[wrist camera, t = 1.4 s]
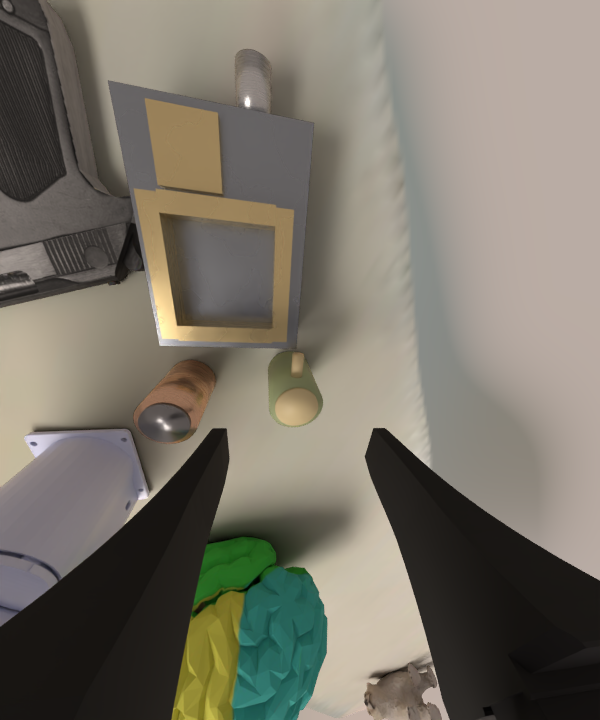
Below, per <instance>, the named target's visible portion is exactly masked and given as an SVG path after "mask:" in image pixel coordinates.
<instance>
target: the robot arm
mask: <svg viewBox="0 0 600 720" xmlns="http://www.w3.org/2000/svg"><path fill="white" fill-rule="evenodd" d="M24 438H25V441H26V442H27V444H28V446H29V448H30V449H31V451H32V453H33V455H34V456H35V459H34V460H33V461H31V462H30V463H29V464H28V465H27V466H26V467H24V468H23V469H22V470H21V471H20V472H18V473H17V474H16V475H15V476H14V477H12V478H11V479H10V480H9V481H8V482H6V483H5V484H4V485H3V486H2V487H0V720H171V719H172V713H173V708H174V702H175V697H176V692H177V686H178V681H179V675H180V670H181V664H182V659H183V654H184V649H185V644H186V639H187V634H188V629H189V624H190V619H191V614H192V609H193V604H194V599H195V595H196V590H197V585H198V580H199V576H200V571H201V567H202V562H203V557H204V553H205V549H206V545H207V542H208V538H209V535H210V531H211V528H212V525H213V521H214V518H215V515H216V511H217V508H218V505H219V501H220V498H221V494H222V491H223V488H224V484H225V480H226V475H227V470H228V464H229V449H228V438H227V428H213V429H212V430H211V431H210V432H209V434H208V435H207V436H206V437H205V439H204V440H203V441H202V443H201V444H200V445H199V446H198V448H197V449H196V450H195V451H194V453H193V454H192V455H191V456H190V457H189V459H188V460H187V461H186V462H185V463H184V465H183V466H182V467H181V468H180V469H179V470H178V471H177V473H176V474H175V475H174V476H173V477H172V478H171V479H170V480H169V481H168V482H167V483H166V485H165V486H164V487H163V488H162V489H161V490H160V491H159V492H158V493H157V494H156V495H155V496H154V497H153V498H152V499H151V500H150V501H149V502H148V503H147V504H146V505H145V506H144V507H143V508H142V509H141V510H140V511H139V512H138V513H137V514H136V515H135V516H134V517H133V518H132V519H131V520H130V521H128V522H127V523H126V524H125V522H126V520H127V518H128V516H129V515H130V513H131V511H132V509H133V507H134V505H135V504H136V502H137V500H139V499H146V498H147V497H148V496H149V490H148V486H147V483H146V480H145V477H144V473H143V470H142V467H141V464H140V460H139V457H138V454H137V451H136V447H135V444H134V441H133V438H132V435H131V432H130V431H129V430H128V429H103V430H75V431H48V432H30V433H29V434H27V435H26V436H25V437H24ZM125 438H126V439H125ZM365 459H366V463H367V466H368V470H369V473H370V476H371V479H372V481H373V484H374V486H375V489H376V491H377V494H378V496H379V498H380V501H381V503H382V505H383V508H384V510H385V512H386V515H387V517H388V519H389V522H390V524H391V526H392V529H393V532H394V534H395V537H396V539H397V542H398V545H399V548H400V551H401V554H402V557H403V560H404V563H405V566H406V569H407V573H408V576H409V579H410V582H411V585H412V589H413V592H414V595H415V598H416V602H417V605H418V609H419V612H420V616H421V619H422V623H423V626H424V630H425V633H426V637H427V641H428V645H429V648H430V652H431V656H432V660H433V664H434V667H435V671H436V675H437V679H438V683H439V687H440V691H441V695H442V699H443V702H444V705H445V708H446V711H447V713H448V716H449V719H450V720H600V581H599V580H598V579H596V578H594V577H592V576H590V575H589V574H587V573H585V572H583V571H581V570H580V569H578V568H576V567H574V566H572V565H571V564H569V563H567V562H565V561H563V560H562V559H560V558H558V557H557V556H555V555H553V554H551V553H550V552H548V551H547V550H545V549H543V548H542V547H540V546H538V545H537V544H535V543H533V542H532V541H530V540H528V539H527V538H525V537H524V536H522V535H520V534H519V533H517V532H516V531H514V530H513V529H511V528H510V527H508V526H506V525H505V524H504V523H502V522H501V521H499V520H497V519H496V518H495V517H493V516H492V515H490V514H488V513H487V512H485V511H484V510H483V509H481V508H480V507H479V506H477V505H476V504H474V503H473V502H472V501H470V500H469V499H468V498H466V497H465V496H464V495H462V494H461V493H460V492H458V491H457V490H456V489H454V488H453V487H452V486H450V485H449V484H448V483H447V482H446V481H444V480H443V479H442V478H441V477H440V476H438V475H437V474H436V473H435V472H433V471H432V470H431V469H430V468H429V467H428V466H426V465H425V464H424V463H423V462H422V461H421V460H420V459H418V458H417V457H416V456H415V455H414V454H413V453H412V452H411V451H410V450H408V449H407V448H406V447H405V446H404V445H403V444H402V443H401V442H400V441H399V440H398V439H397V438H395V437H394V436H393V435H392V434H391V433H390V432H389V431H388V430H386V429H385V428H373V432H372V435H371V438H370V441H369V445H368V448H367V451H366V455H365ZM124 524H125V525H124Z"/></svg>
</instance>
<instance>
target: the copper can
mask: <svg viewBox="0 0 600 720" xmlns="http://www.w3.org/2000/svg"><path fill="white" fill-rule="evenodd" d="M215 383H216V379H215V375H214V373H213V371H212V370H211V369H210V368H209V367H208V366H207V365H205V364H204V363H201V362H199V361H194V360H186V361H182V362H180V363H178V364H176V365H175V366H174V367H173V368H172V369H171V370H170V371H169V373H168V374H167V375H166V376H165V377H164V378H163V379H162V380H161V381H160V382H159V384H158V385H157V386H156V387H155V388H154V389H153V390H152V391H151V392H150V393H149V395H148V396H147V397H146V398H145V399H144V400H143V401H142V402H141V403H140V404H139V406H138V407H137V408H136V410H135V412H134V416H133V420H134V424H135V426H136V428H137V429H138V431H139V432H140V433H141V434H142V435H144V436H145V437H147V438H148V439H151V440H153V441H156V442H159V443H166V444H172V443H179V442H182V441H185V440H187V439H188V438H190V437H191V436H192V435H193V434H194V433H195V431H196V429H197V427H198V425H199V422H200V420H201V418H202V415H203V413H204V410H205V408H206V406H207V403H208V401H209V399H210V396H211V394H212V392H213V389H214V387H215Z"/></svg>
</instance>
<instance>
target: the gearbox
mask: <svg viewBox="0 0 600 720" xmlns="http://www.w3.org/2000/svg"><path fill="white" fill-rule="evenodd" d="M271 82H272V68H271V65H270V63H269V61H268V60H267V58H266V57H265V56H264V55H262V54H261V53H259V52H257V51H255V50H251V49H243V50H241V51H239V52H238V53H237V54H236V56H235V85H236V107H234V106H229V105H224V104H220V103H215V102H210V101H205V100H200V99H196V98H191V97H186V96H181V95H176V94H171V93H167V92H162V91H157V90H152V89H147V88H142V87H138V86H133V85H128V84H123V83H118V82H113V81H109V80H108V84H109V89H110V94H111V99H112V105H113V110H114V115H115V120H116V125H117V130H118V135H119V140H120V145H121V150H122V155H123V161H124V166H125V171H126V176H127V181H128V186H129V191H130V196H131V201H132V206H133V211H134V217H135V222H136V227H137V232H138V237H139V242H140V247H141V252H142V257H143V262H144V267H145V272H146V278H147V283H148V288H149V293H150V298H151V303H152V308H153V313H154V318H155V323H156V328H157V334H158V339H159V344H160V346H195V347H239V348H283V349H296V346H297V333H298V320H299V308H300V295H301V282H302V269H303V256H304V244H305V231H306V218H307V205H308V192H309V180H310V167H311V154H312V141H313V128H314V123H311V122H307V121H302V120H297V119H292V118H287V117H282V116H278V115H273V114H271Z"/></svg>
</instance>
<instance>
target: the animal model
mask: <svg viewBox="0 0 600 720" xmlns="http://www.w3.org/2000/svg"><path fill="white" fill-rule="evenodd" d="M436 686H437V681H436V678H435V675H434V673H433V671H432V669H431V668H430V666H427V672H425V673H418V671H417V669H416V668H415V667H414V666H413V665H412V664H411V663H408V671H404V672H401V671H397V672H396V671H395V672H391V673H389V674H388V675H386V676H385V677H383V678H382V679H380V680H379V681H378V682H377V684H375V685H372V684H371V683H367V691H366V692H365V694H364V699H365V702H364V703H365V705H366V706H367V711H368V713H369V715H371V716H373V717H374V720H382V719H384V718H386V719H388V720H442V718H441V714H440V711H439V709H438V708H437V706H436V705H433V704H431V703H429V702H428V703H427V705H426V704H424V703H423V699H422V694H423V692H424V691H425V690H426V689H428V688H429V687H433V688H435V687H436Z"/></svg>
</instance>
